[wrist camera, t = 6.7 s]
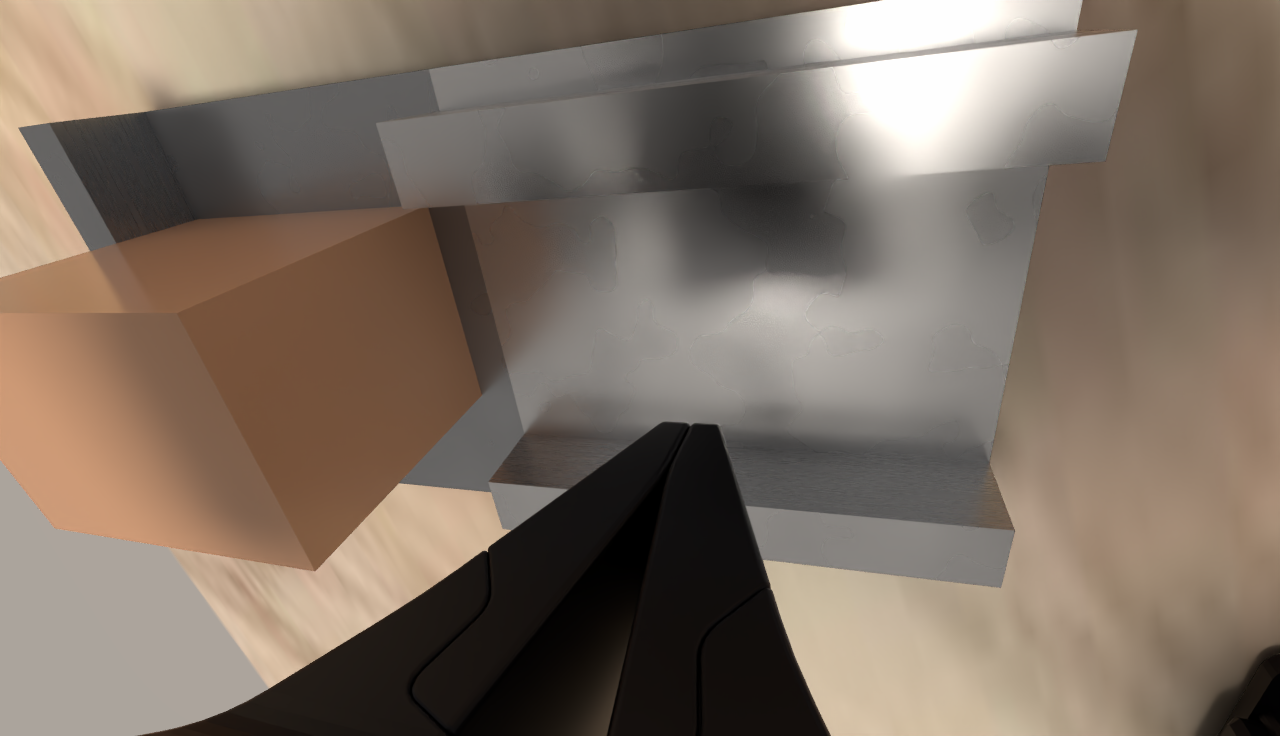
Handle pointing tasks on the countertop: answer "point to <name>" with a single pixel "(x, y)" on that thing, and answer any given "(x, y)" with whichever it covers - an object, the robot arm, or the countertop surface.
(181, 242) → the block
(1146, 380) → the countertop surface
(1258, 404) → the countertop surface
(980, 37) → the chute
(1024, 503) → the countertop surface
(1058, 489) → the countertop surface
